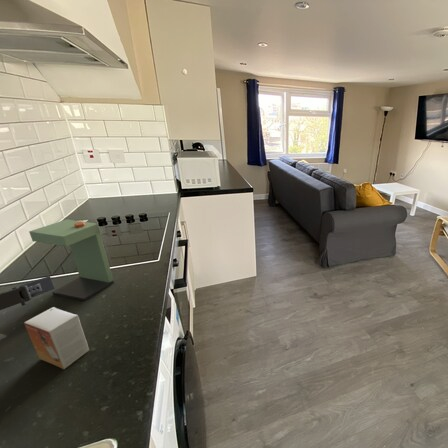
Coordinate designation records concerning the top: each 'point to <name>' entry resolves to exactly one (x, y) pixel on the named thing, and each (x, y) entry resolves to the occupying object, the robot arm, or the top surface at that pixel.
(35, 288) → the robot arm
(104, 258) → the coffee maker
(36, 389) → the top surface
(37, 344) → the small box
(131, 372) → the top surface
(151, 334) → the top surface
